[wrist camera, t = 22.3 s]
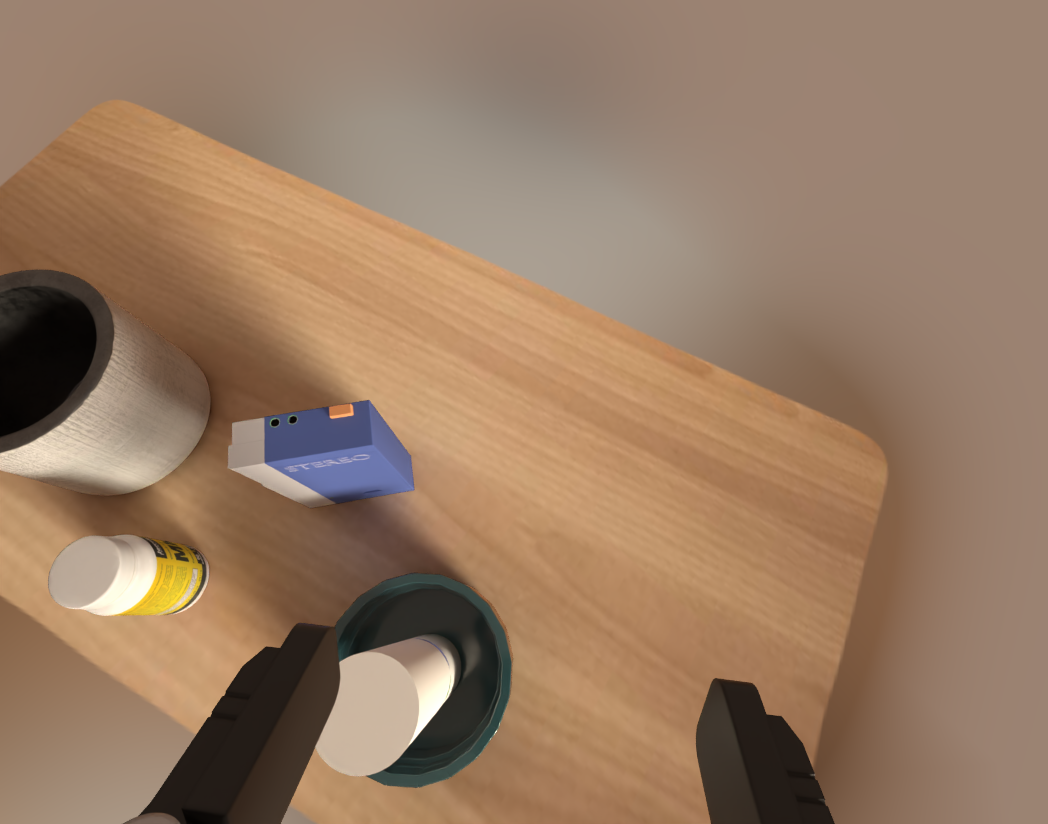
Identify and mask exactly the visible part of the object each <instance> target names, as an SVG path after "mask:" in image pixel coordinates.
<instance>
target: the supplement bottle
mask: <svg viewBox="0 0 1048 824" xmlns="http://www.w3.org/2000/svg"><path fill="white" fill-rule="evenodd" d="M208 579H209V565H208V562H207V559H206V558H205V556H204V555H203V554H202V553H201V552H200V551H199V550H198V549H196V548H194V547H191V546H188V545H183V544H178V543H172V542H167V541H162V540H156V539H151V538H146V537H141V536H136V535H116V536H112V537H110V536H107V537H106V536H87V537H83V538H80V539H78V540H76V541H74V542H72V543H71V544H69V545H68V546H67V547H66V548H64V549H63V550H62V551H61V552H60V554H59V555H58V556H57V557H56V559H55V561H54V562H53V565H52V567H51V569H50V572H49V577H48V588H49V592H50V594H51V596H52V598H53V599H54V600H55V601H56V602H57V603H58V604H59V605H61V606H63V607H66V608H70V609H85V610H86V611H88V612H90V613H93V614H96V615H103V616H118V615H171V614H176V613H179V612H182V611H184V610H186V609H188V608H189V607H191V606H192V605H193V604H194V603H195V602H197V600H198V599H199V598H200V597H201V595H202V594H203V592H204V590H205V588H206V586H207V583H208Z"/></svg>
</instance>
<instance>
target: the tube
mask: <svg viewBox="0 0 1048 824" xmlns="http://www.w3.org/2000/svg"><path fill="white" fill-rule="evenodd" d="M339 665H340V685H339V691H338V695H337V698H336V701H335V704H334V707H333V709H332V711H331V713H330V716H329V718H328V720H327V722H326V724H325V727H324V729H323V731H322V733H321V735H320V738H319V740H318V742H317V744H316V746H315V748H316V750H317V752H318V754H319V755H320V757H321V758H322V759H323V760H324V761H325V762H326V763H327V765H329V766H330V767H332V768H333V769H335V770H336V771H338V772H341V773H343V774H346V775H351V776H367V775H371V774H374V773H378V772H380V771H382V770H384V769H385V768H387V767H389V766H390V765H391V764H393V763H394V762H395V761H396V760H397V759H398V758H399V757H400V756H401V755H402V754H403V753H404V751H405V750H406V749H407V748H408V746H409V745H410V744H411V743H412V742H413V740H414V739H415V738H416V737H417V736H418V734H419V733H420V732H421V731H422V729H423V728H424V727H425V726H426V725H427V723H428V722H429V721H430V720H431V718H432V717H433V716H434V715H435V714H436V712H437V711H438V710H439V709H440V707H441V706H442V705H443V704H444V702H445V701H446V700H447V699H448V697H449V696H450V695H451V694H452V692H453V691H454V690H455V688H456V686H457V684H458V682H459V679H460V676H461V660H460V656H459V653H458V651H457V649H456V648H455V646H454V645H453V644H452V643H451V642H450V641H449V640H448V639H446V638H445V637H443V636H440V635H437V634H425V635H421V636H418V637H414V638H411V639H407V640H404V641H400V642H397V643H393V644H390V645H386V646H383V647H379V648H376V649H372V650H369V651H365V652H362V653H358V654H355V655H352V656H349V657H348V658H346V659H344V660H342V661H340V662H339Z"/></svg>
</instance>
